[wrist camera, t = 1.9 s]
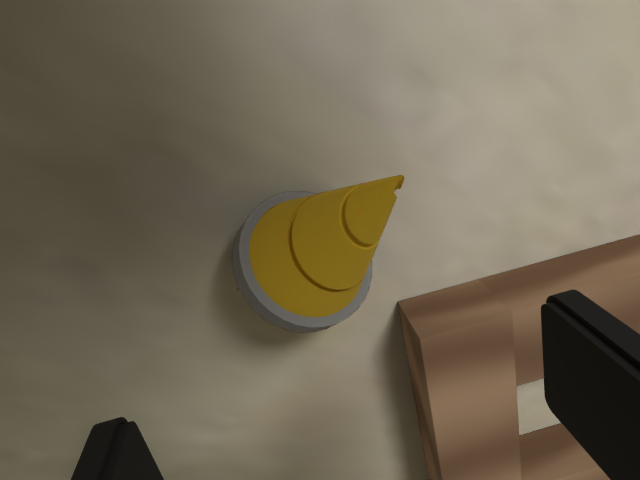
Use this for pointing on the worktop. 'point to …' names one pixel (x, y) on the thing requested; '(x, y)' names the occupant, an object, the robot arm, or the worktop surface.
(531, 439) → the walnut socket block
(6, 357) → the worktop surface
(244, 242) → the yellow stepped cone
